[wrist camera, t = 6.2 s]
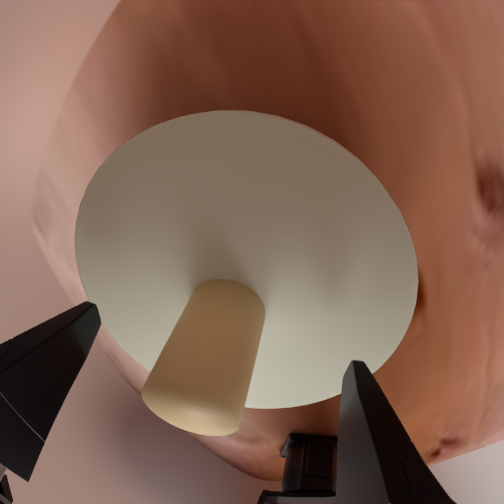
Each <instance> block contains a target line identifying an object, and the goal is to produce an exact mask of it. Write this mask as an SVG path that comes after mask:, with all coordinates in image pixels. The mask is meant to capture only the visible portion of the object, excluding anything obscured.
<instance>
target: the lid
mask: <svg viewBox="0 0 504 504" xmlns="http://www.w3.org/2000/svg"><path fill="white" fill-rule="evenodd" d="M75 253H76V261H77V267H78V272H79V276H80V279H81V282H82V285H83V288H84V291H85V293H86V296H87V298H88V300H89V302H92V303H95V304H96V305H97V307H98V311H99V314H100V318H101V323H102V324H103V326H104V327H105V328H106V330H107V331H108V333H109V334H110V335H111V336H112V337H113V338H114V340H115V341H116V342H117V343H118V344H119V345H120V346H121V347H122V348H123V349H124V350H125V351H126V352H127V353H128V354H129V355H130V356H131V357H132V358H133V359H135V360H136V361H137V362H138V363H140V364H141V365H142V366H143V367H145V368H146V369H147V370H149V371H150V374H149V376H148V378H147V380H146V382H145V384H144V386H143V388H142V391H141V395H142V398H143V401H144V402H145V404H146V405H147V406H148V408H149V409H150V410H151V411H152V412H154V413H155V414H156V415H157V416H159V417H160V418H162V419H163V420H165V421H166V422H168V423H170V424H172V425H174V426H176V427H178V428H181V429H183V430H186V431H189V432H193V433H197V434H201V435H208V436H223V435H229V434H232V433H234V432H236V431H237V430H238V429H239V427H240V424H241V420H242V416H243V412H244V407H247V408H261V409H276V408H290V407H296V406H302V405H308V404H312V403H315V402H319V401H323V400H326V399H328V398H331V397H334V396H336V395H339V394H341V390H342V380H343V376H344V373H345V372H346V370H347V368H348V366H349V364H350V362H351V361H352V360H360V361H364V362H365V363H366V365H367V367H368V368H369V370H370V372H371V373H372V374H373V373H374V372H375V371H376V370H378V369H379V368H380V367H381V366H382V365H383V364H384V363H385V362H386V361H387V359H388V358H389V357H390V356H391V355H392V354H393V353H394V351H395V350H396V348H397V347H398V345H399V344H400V342H401V341H402V339H403V337H404V335H405V333H406V331H407V329H408V327H409V324H410V322H411V319H412V316H413V312H414V309H415V305H416V300H417V290H418V268H417V258H416V254H415V250H414V246H413V242H412V238H411V235H410V232H409V230H408V228H407V225H406V223H405V221H404V219H403V216H402V214H401V212H400V210H399V209H398V207H397V206H396V204H395V203H394V201H393V200H392V198H391V197H390V195H389V194H388V192H387V191H386V189H385V188H384V186H383V185H382V184H381V182H380V181H379V180H378V178H377V177H376V176H375V175H374V174H373V173H372V172H371V171H370V170H369V169H368V168H367V167H366V166H365V165H364V164H363V163H362V162H361V160H360V159H359V158H358V157H356V156H355V155H354V154H352V153H351V152H350V151H348V150H347V149H346V148H344V147H343V146H342V145H340V144H339V143H338V142H336V141H335V140H333V139H332V138H330V137H328V136H326V135H324V134H322V133H321V132H319V131H317V130H315V129H313V128H311V127H309V126H307V125H304V124H301V123H299V122H296V121H293V120H290V119H287V118H284V117H281V116H277V115H272V114H267V113H261V112H255V111H249V110H216V111H209V112H202V113H195V114H190V115H186V116H181V117H178V118H175V119H172V120H169V121H166V122H163V123H160V124H157V125H154V126H152V127H150V128H148V129H147V130H145V131H143V132H141V133H139V134H137V135H135V136H134V137H132V138H130V139H129V140H128V141H127V142H125V143H124V144H123V145H122V146H120V147H119V148H118V149H117V150H115V151H114V152H113V153H112V154H111V155H110V156H109V157H108V158H107V160H106V161H105V162H104V163H103V164H102V165H101V166H100V167H99V169H98V170H97V172H96V173H95V175H94V177H93V178H92V180H91V181H90V183H89V185H88V187H87V189H86V191H85V194H84V196H83V199H82V201H81V204H80V208H79V212H78V216H77V220H76V229H75Z"/></svg>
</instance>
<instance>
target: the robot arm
mask: <svg viewBox="0 0 504 504" xmlns="http://www.w3.org/2000/svg"><path fill="white" fill-rule="evenodd" d="M100 326H101V318H100V314H99V311H98V307H97V305H96V304H95V303H92V302H89V301H86V302H83V303H81V304H79V305H77V306H75V307H73V308H71V309H69V310H67V311H65V312H63V313H61V314H59V315H57V316H55V317H53V318H51V319H49V320H47V321H45V322H43V323H41V324H39V325H37V326H35V327H33V328H31V329H29V330H27V331H25V332H23V333H21V334H19V335H17V336H16V337H14V338H13V339H10V340H8V341H6V342H4V343H2V344H0V504H12V502H13V498H12V495H11V491H10V487H9V483H8V479H7V476H6V475H5V472H6V470H7V469H8V470H10V471H11V472H13V473H14V474H16V475H17V476H19V477H20V478H22V479H23V480H25V481H27V482H28V481H29V480H30V477H31V474H32V472H33V469H34V467H35V465H36V462H37V460H38V457H39V455H40V453H41V450H42V448H43V446H44V443H45V442H44V441H46V439H47V436H48V434H49V432H50V430H51V427H52V425H53V423H54V421H55V419H56V417H57V415H58V413H59V410H60V409H61V406H62V404H63V402H64V400H65V398H66V396H67V394H68V392H69V390H70V388H71V387H72V384H73V383H74V381H75V379H76V377H77V375H78V373H79V371H80V369H81V368H82V366H83V364H84V362H85V360H86V358H87V356H88V353H89V351H90V349H91V347H92V344H93V342H94V340H95V337H96V335H97V333H98V330H99V328H100ZM280 457H282V458H286V460H285V466H284V473H283V479H282V485H281V491H280V492H279V491H269V490H263V492H262V493H261V496H260V497H259V500H258V503H257V504H457V503H455V502H454V501H453V500H452V499H451V498H450V497H449V496H448V494H447V493H446V492H445V490H444V489H443V487H442V486H441V485H440V483H439V482H438V481H437V479H436V478H435V476H434V475H433V474H432V472H431V471H430V469H429V468H428V466H427V465H426V464H425V462H424V461H423V459H422V457H421V456H420V454H419V452H418V451H417V449H416V447H415V445H414V444H413V442H411V439H410V437H409V435H408V433H407V432H406V430H405V428H404V427H403V425H402V423H401V421H400V420H399V418H398V416H397V415H396V413H395V411H394V410H393V408H392V406H391V405H390V403H389V401H388V399H387V398H386V396H385V395H384V393H383V391H382V390H381V388H380V386H379V385H378V383H377V381H376V380H375V378H374V376H373V375H372V373H371V372H370V370H369V368H368V367H367V365H366V363H365V362H364V361H360V360H352V361H351V362H350V364H349V366H348V368H347V370H346V372H345V373H344V376H343V380H342V390H341V399H340V408H339V417H338V438H328V437H317V436H308V435H299V434H290V435H289V437H288V438H287V440H286V442H285V444H284V446H283V448H282V450H281V452H280Z"/></svg>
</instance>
